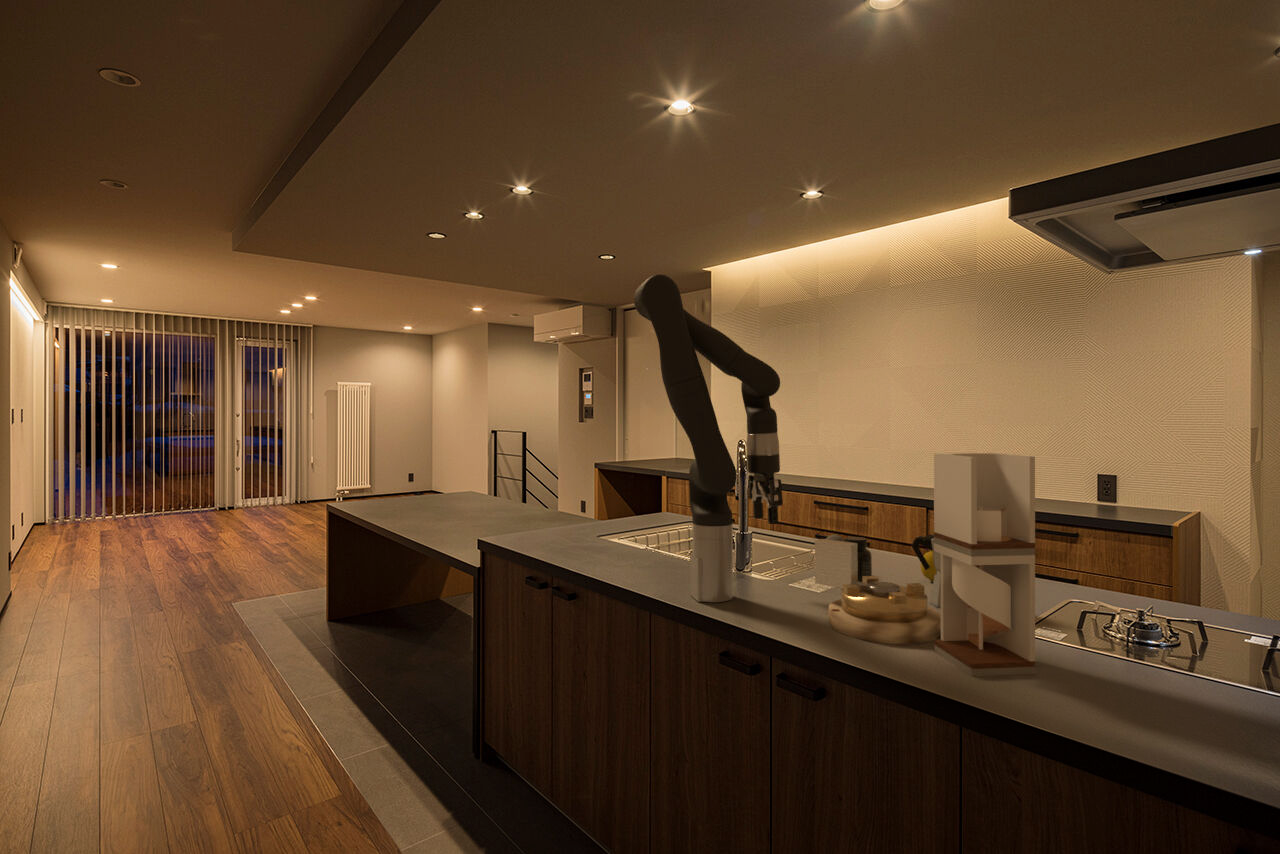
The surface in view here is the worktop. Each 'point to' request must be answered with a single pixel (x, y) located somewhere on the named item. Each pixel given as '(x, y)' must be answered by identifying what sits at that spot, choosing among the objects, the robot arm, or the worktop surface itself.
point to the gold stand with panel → (866, 586)
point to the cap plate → (885, 627)
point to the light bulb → (835, 538)
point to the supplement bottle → (862, 557)
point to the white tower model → (986, 561)
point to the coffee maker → (929, 544)
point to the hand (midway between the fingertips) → (765, 521)
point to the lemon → (930, 571)
